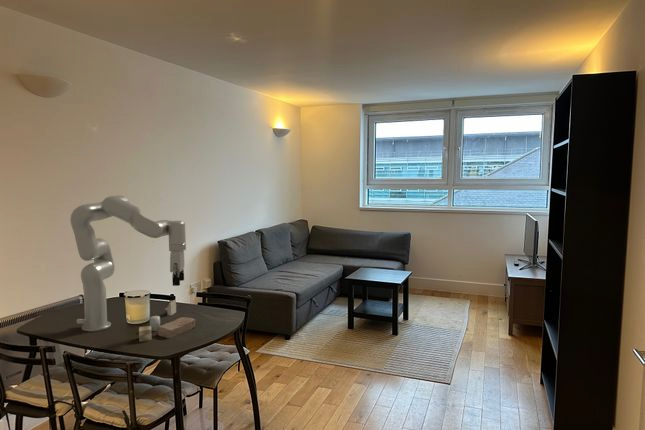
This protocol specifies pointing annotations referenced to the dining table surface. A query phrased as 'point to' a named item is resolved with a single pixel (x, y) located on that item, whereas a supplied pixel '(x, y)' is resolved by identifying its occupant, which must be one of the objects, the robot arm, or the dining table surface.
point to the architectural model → (171, 308)
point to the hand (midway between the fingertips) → (178, 282)
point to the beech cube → (145, 333)
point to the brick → (176, 327)
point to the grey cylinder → (155, 323)
